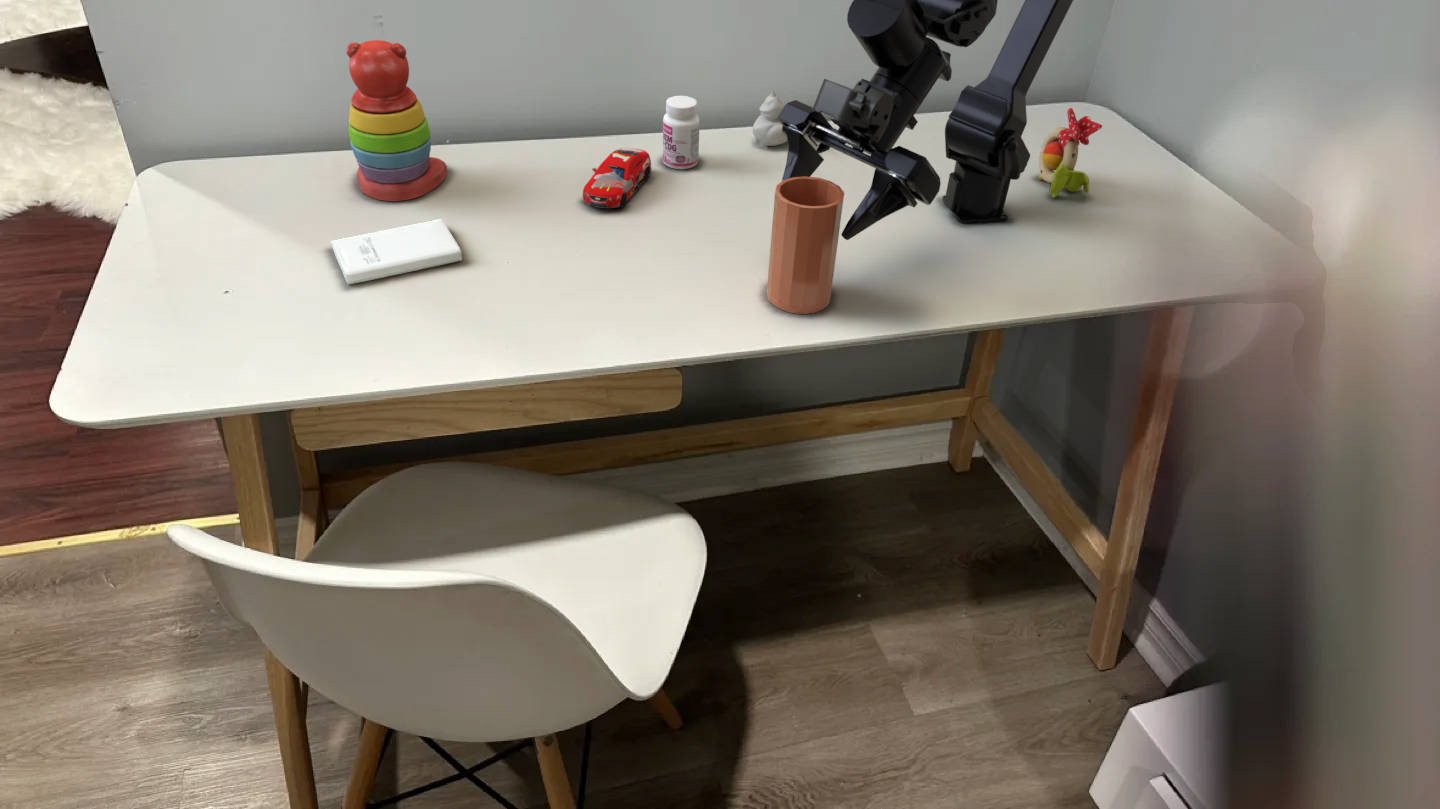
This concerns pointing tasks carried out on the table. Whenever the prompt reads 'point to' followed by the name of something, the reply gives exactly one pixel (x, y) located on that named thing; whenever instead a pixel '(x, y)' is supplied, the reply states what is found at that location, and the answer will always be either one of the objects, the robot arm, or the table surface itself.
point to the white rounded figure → (770, 122)
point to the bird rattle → (1065, 154)
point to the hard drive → (396, 251)
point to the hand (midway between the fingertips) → (811, 220)
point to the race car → (617, 178)
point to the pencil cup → (804, 244)
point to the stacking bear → (389, 125)
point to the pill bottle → (681, 133)
